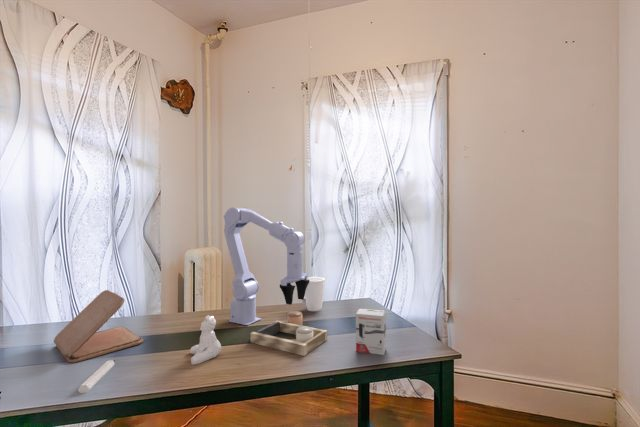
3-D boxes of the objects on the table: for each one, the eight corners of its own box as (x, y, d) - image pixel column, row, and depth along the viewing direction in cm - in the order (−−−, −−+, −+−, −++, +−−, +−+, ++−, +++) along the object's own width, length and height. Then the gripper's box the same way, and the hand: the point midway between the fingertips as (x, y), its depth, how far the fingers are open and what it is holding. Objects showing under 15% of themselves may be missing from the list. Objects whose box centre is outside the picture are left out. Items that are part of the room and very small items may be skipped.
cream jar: (292, 346, 104) (292, 330, 104) (302, 340, 109) (302, 325, 109) (307, 349, 101) (307, 333, 101) (316, 343, 106) (316, 327, 106)
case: (52, 347, 106) (51, 297, 106) (125, 329, 121) (124, 285, 121) (65, 367, 92) (64, 310, 92) (146, 344, 107) (145, 295, 107)
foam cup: (301, 311, 139) (300, 281, 139) (305, 305, 148) (305, 276, 148) (323, 312, 138) (323, 281, 138) (326, 306, 147) (326, 277, 147)
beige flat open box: (250, 342, 107) (250, 333, 107) (277, 328, 119) (277, 320, 119) (304, 355, 97) (304, 345, 97) (327, 339, 109) (327, 330, 109)
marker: (115, 365, 94) (85, 396, 78) (108, 362, 94) (76, 392, 78) (120, 357, 94) (91, 386, 79) (113, 354, 94) (82, 382, 78)
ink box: (355, 352, 99) (355, 312, 99) (358, 345, 104) (358, 308, 104) (384, 355, 97) (384, 315, 97) (386, 348, 101) (385, 310, 101)
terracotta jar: (284, 327, 121) (284, 314, 121) (293, 323, 125) (293, 310, 125) (297, 330, 118) (296, 316, 118) (305, 325, 123) (305, 312, 123)
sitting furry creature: (190, 352, 100) (189, 313, 100) (219, 347, 104) (219, 309, 104) (191, 365, 92) (190, 322, 91) (223, 360, 95) (222, 318, 95)
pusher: (250, 339, 110) (250, 329, 110) (270, 329, 119) (270, 319, 119) (260, 341, 108) (260, 331, 108) (279, 331, 117) (279, 321, 117)
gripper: (292, 268, 113) (292, 308, 113) (314, 262, 125) (314, 298, 125) (275, 266, 116) (276, 305, 116) (299, 261, 129) (299, 295, 129)
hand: (295, 301), depth 121 cm, fingers open, 7 cm apart
